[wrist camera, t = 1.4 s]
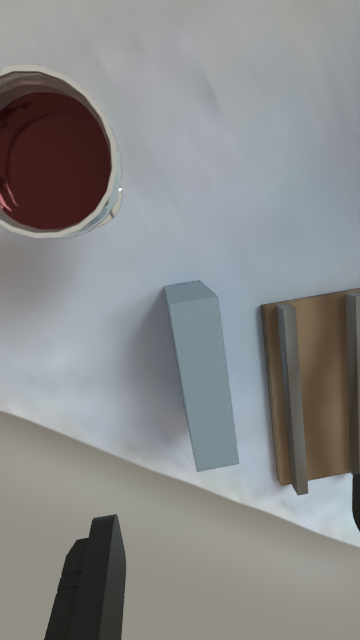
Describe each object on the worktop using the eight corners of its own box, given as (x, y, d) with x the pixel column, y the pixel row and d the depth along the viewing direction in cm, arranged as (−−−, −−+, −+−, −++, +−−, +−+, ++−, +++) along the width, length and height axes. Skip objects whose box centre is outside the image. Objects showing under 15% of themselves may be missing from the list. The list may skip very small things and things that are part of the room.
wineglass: (149, 212, 26) (148, 191, 14) (75, 254, 26) (16, 267, 15) (103, 127, 24) (60, 27, 13) (25, 173, 25) (-88, 117, 13)
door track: (360, 287, 29) (379, 292, 27) (363, 461, 34) (380, 479, 31) (261, 304, 29) (271, 311, 26) (277, 478, 33) (287, 497, 31)
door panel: (199, 280, 28) (217, 296, 20) (217, 407, 31) (239, 463, 23) (164, 285, 28) (169, 304, 20) (185, 412, 31) (196, 471, 23)
